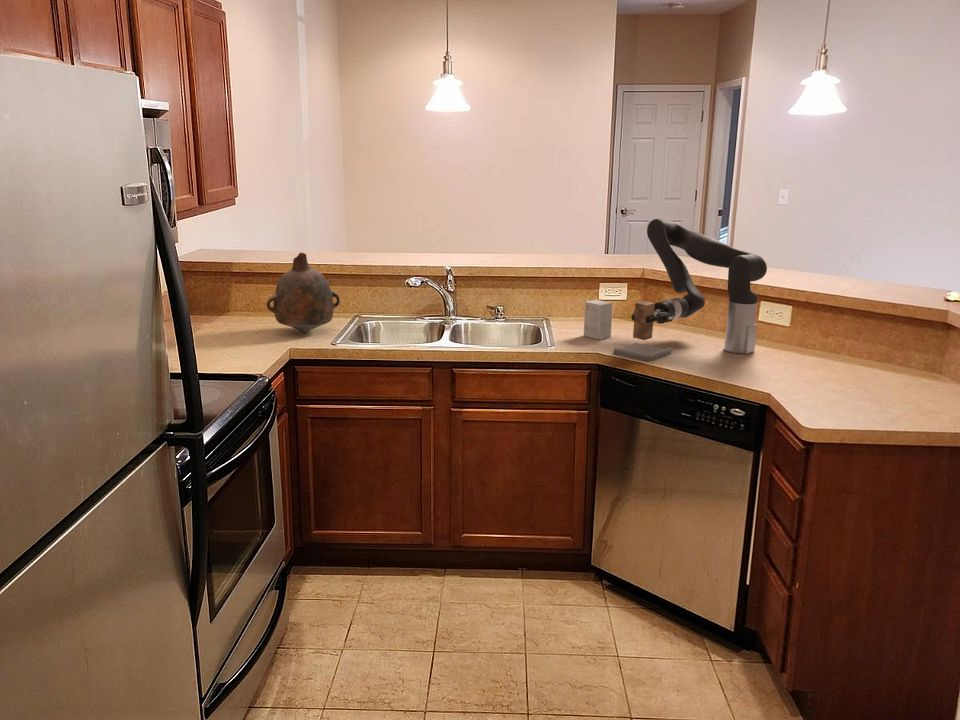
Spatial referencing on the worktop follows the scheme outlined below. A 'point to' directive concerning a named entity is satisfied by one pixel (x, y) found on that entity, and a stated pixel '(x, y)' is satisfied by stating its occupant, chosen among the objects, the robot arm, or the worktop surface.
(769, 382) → the worktop surface
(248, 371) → the worktop surface
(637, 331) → the walnut block
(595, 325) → the small box
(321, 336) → the worktop surface
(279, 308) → the jug
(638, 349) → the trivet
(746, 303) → the robot arm
